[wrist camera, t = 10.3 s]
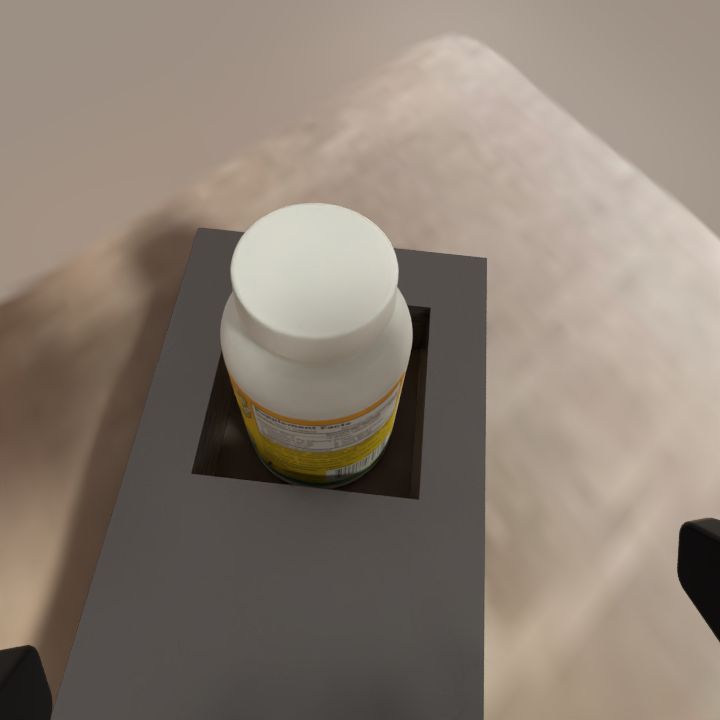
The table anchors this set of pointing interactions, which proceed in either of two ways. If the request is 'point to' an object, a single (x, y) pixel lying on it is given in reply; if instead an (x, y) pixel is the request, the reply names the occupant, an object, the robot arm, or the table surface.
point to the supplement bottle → (316, 342)
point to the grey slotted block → (293, 542)
